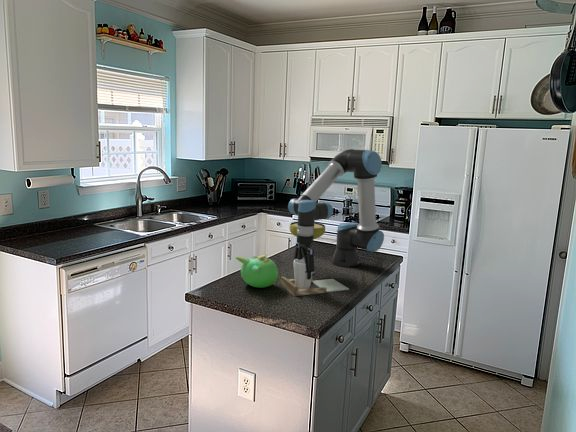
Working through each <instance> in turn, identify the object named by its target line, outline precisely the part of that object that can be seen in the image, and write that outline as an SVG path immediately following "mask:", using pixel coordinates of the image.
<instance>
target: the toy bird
mask: <svg viewBox="0 0 576 432" xmlns="http://www.w3.org/2000/svg"><path fill="white" fill-rule="evenodd" d="M235 260H237V261H239V262H240V263H241V264H242V265H241V267H240V275H241V278H242V279H243V282H245V283H246V284H247V285H249V286H250V287H254V288H259V289H260V288H261V289H263V288H267V287H270V286H272V285H273V284H274V283H275V282H276V281H277V279H278V277H279V269H278V266H277V264H276V263H275V262H274V261H273V260H272V259H270V258H268V257H267V254H263V255H258V256H251V257H249V258H245V257H242V256H235Z"/></svg>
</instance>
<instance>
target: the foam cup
mask: <svg viewBox="0 0 576 432" xmlns="http://www.w3.org/2000/svg"><path fill="white" fill-rule="evenodd" d="M293 260H294V259H293ZM292 265H293V266H292V267H293V274H294V279H295V285H296V286H297V287H298V290H301V289H310V286H304V285H305V271H306V264H305V260H304V258H303V259H301V260H298V259H295V260H294V262H293V264H292ZM312 276H313V275H312V273H311V277H312Z"/></svg>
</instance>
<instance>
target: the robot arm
mask: <svg viewBox="0 0 576 432" xmlns="http://www.w3.org/2000/svg"><path fill="white" fill-rule="evenodd" d="M381 169H382V158H381V155H380V154H379V153H378V152H377V151H375V150H370V149H354V148H351V149H345V150H343V151H342V152H340V153H338V154H336V155H335V156H333V158H332V159H330V160H329V162H328V164H327V167H325V169H324V170H323V171H322V173H320V175H319V176H318V177H317V178H316V179H315V180H314V181H313V182H311V183H310V185H309V186H308V187H307V188H306V190H305V191H303V193H302V194H301V195H300V196H299V197H298V198H291V199H290V201H289V202H288V205H287V209H288V211H289V212H290V213H291V214H294V215H295V216H297V222H298V227H297V233H298V235H297V237H296V243H295V249H294V254H293V260H292V261H293V262H294V260H295V259H298V260H301V259H304V260H305V264H306V271H305V285H304V286H311V285H312V283H311V278H312V276H311V273H312V272H314V271H315V260H314V259H315V258H314V254H315V250H314V249H312V248H311V245H313V244H314V240H313V238H314V236H313V234H314V222H316V221H321V220H322V221H323V220H327V219H330V218H332V216H333V213H334V207H333V206H332V204H331V203H329V202H317V201H318V200H319V199H320V198H321V197H322V196H323V195H324V194H325V192H326V191H327V190H328V189H329V188H330V187H331V186H332V185H333V183H335V181H336V180H337V179H338V178H339V177H342V176H343V175H345V174H346V173H348V172H349V173H350V172H351V173H353V178H354V179H355V180H356V183H357V184H356V185H357V200H358V218H359V220H358V221H359V223H358V222H341V223H339V224H338V225H337V230H336V246H335V251H334V252H333V256H332V258H331V263H332V264H333V265H335V266H339V267H346V268H351V267H350V266H355V267H357V266H356V265H358V264H359V265H360V257H359V254H358V249H360V250H364V251H366V252H372V253H373V252H375V253H376V252H377V251H379V250H380V249H381V247H382V246H383V244H384V239H385V234H384V232H383V231H382V230H380V225H379V224H378V223H377V216H376V194H375V193H376V188H375V179H377V177H378V174H379V173H380V172H381ZM359 265H358V266H359Z"/></svg>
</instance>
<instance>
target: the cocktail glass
mask: <svg viewBox="0 0 576 432" xmlns="http://www.w3.org/2000/svg"><path fill="white" fill-rule="evenodd" d="M297 227H298V221H294V222H291V223H289V231H290V233H291V234H292V235H293V236H294V237H296V238H297V235H298V233H297ZM325 232H326V225H325V224H323V223H320V222H316V221H314V234H313V236H314V238H313V241H314V240H316V239H318V238H320V237H322V236H324V234H325ZM315 274H316V271H315V270H314V272H312V276H313V275H315Z"/></svg>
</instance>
